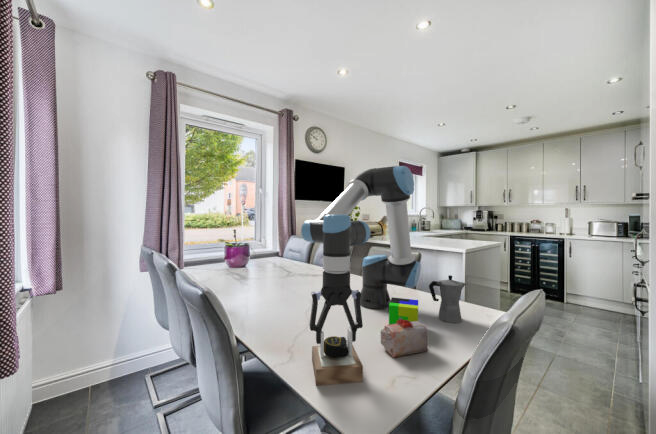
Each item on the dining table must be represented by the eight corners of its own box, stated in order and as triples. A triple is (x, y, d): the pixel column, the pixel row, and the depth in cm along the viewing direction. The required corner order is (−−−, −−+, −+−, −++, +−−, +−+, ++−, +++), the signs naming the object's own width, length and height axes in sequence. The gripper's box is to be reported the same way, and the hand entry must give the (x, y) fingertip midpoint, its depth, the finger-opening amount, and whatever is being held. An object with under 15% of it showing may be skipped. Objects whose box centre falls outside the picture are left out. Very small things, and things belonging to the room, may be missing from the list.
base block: (351, 357, 81) (352, 343, 81) (362, 381, 69) (362, 365, 69) (312, 359, 79) (312, 345, 79) (316, 385, 67) (316, 368, 67)
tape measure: (348, 361, 71) (348, 347, 70) (322, 360, 71) (322, 346, 71) (346, 348, 77) (347, 335, 77) (323, 347, 77) (323, 335, 77)
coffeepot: (459, 314, 116) (460, 273, 116) (471, 323, 107) (472, 278, 106) (424, 314, 115) (424, 273, 115) (433, 323, 106) (434, 278, 106)
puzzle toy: (418, 325, 104) (418, 300, 104) (417, 336, 95) (418, 308, 94) (391, 322, 107) (391, 297, 107) (388, 332, 98) (389, 305, 98)
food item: (392, 361, 79) (392, 327, 79) (378, 348, 86) (378, 317, 86) (430, 353, 83) (430, 321, 83) (414, 342, 91) (414, 312, 91)
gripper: (367, 267, 79) (367, 344, 79) (299, 268, 76) (298, 349, 76) (376, 272, 71) (375, 358, 72) (300, 274, 68) (299, 364, 69)
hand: (335, 353), depth 74 cm, fingers closed on tape measure, 7 cm apart
